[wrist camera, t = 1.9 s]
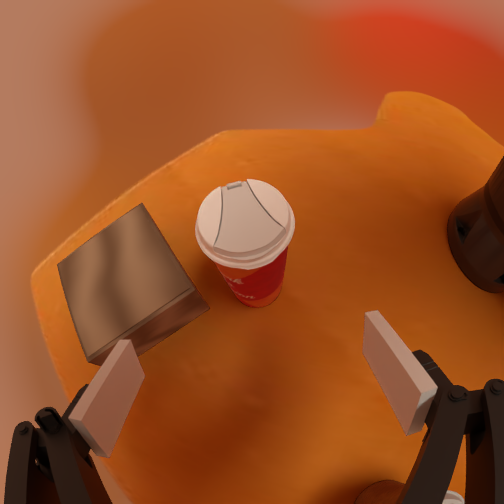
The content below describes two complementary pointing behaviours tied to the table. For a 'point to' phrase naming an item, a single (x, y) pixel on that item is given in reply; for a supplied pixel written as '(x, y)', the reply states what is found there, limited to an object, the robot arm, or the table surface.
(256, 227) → the paper cup
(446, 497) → the disposable coffee cup
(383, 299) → the table surface
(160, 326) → the walnut box
